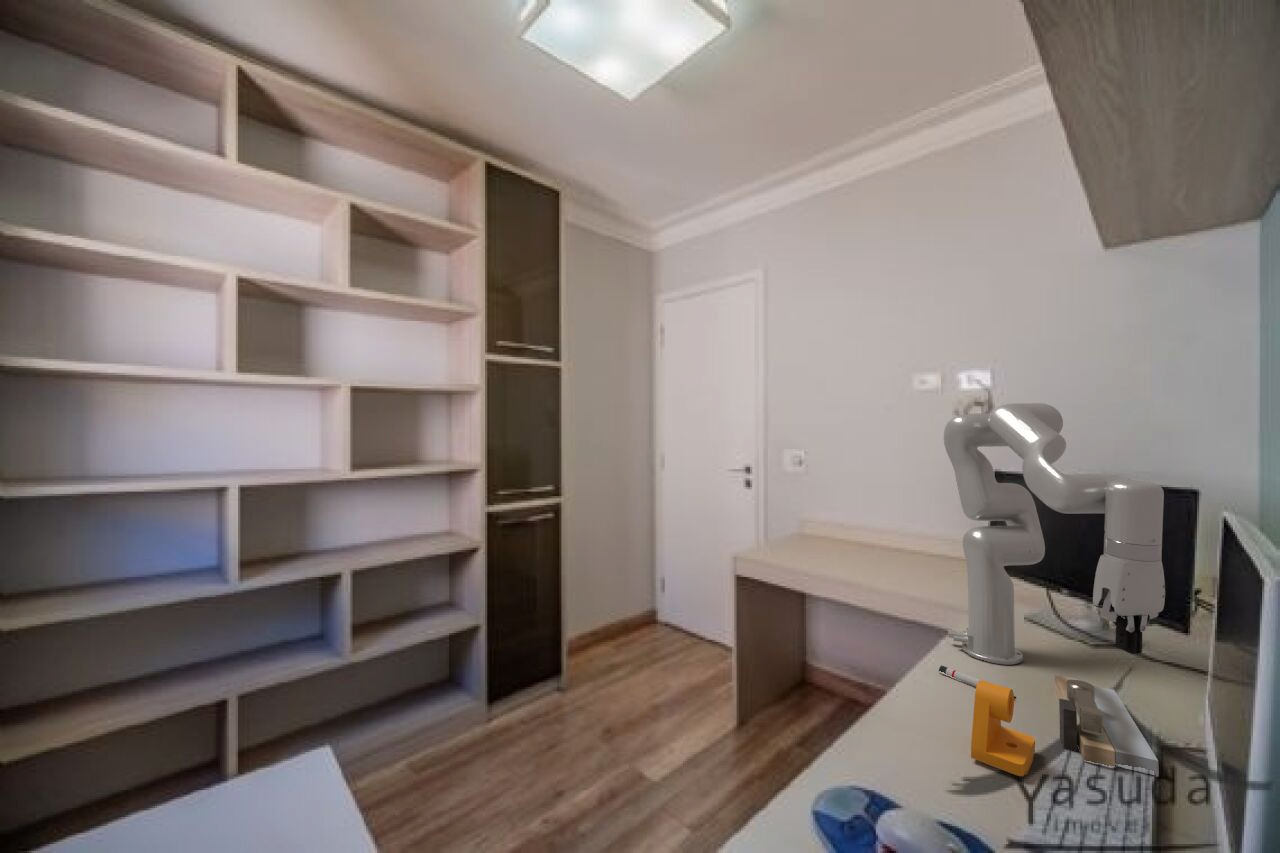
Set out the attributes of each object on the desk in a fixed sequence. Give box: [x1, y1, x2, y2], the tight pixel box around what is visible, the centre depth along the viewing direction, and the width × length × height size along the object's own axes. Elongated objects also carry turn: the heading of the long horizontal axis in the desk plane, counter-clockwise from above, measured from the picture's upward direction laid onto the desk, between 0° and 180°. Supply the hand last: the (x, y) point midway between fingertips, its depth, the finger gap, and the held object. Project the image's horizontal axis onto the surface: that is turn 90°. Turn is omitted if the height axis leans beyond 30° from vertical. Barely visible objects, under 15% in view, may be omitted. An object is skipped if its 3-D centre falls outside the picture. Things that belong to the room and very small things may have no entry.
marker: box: [938, 665, 1017, 700], centre depth 114 cm, size 15×2×2 cm, turn 32°
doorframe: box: [1054, 674, 1160, 778], centre depth 99 cm, size 12×28×7 cm, turn 149°
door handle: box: [1067, 679, 1103, 736], centre depth 95 cm, size 14×4×4 cm, turn 147°
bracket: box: [970, 679, 1036, 777], centre depth 90 cm, size 11×7×12 cm, turn 134°
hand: (1128, 650), depth 94 cm, fingers closed
